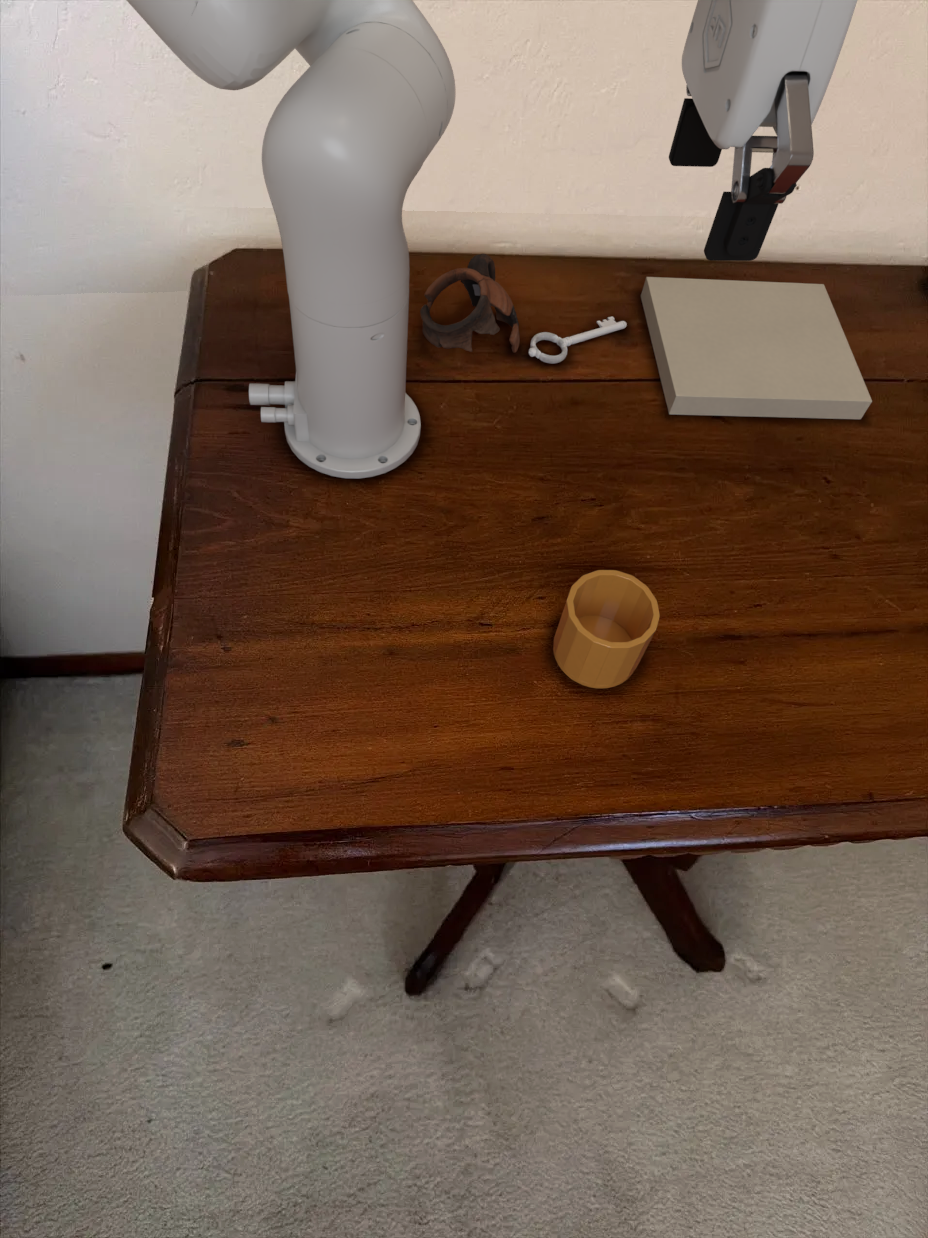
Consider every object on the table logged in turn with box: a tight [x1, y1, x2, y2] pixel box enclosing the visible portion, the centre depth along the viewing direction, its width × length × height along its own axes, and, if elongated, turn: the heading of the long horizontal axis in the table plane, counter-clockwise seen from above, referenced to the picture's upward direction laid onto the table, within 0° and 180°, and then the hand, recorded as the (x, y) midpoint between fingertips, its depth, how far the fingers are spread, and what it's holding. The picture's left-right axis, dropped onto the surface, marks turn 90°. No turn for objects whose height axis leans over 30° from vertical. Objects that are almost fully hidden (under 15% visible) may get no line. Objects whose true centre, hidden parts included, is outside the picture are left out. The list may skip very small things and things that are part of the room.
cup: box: [552, 569, 661, 689], centre depth 69 cm, size 7×7×6 cm
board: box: [640, 276, 873, 420], centre depth 92 cm, size 20×18×2 cm
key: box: [527, 316, 628, 365], centre depth 91 cm, size 12×1×4 cm
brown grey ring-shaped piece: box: [419, 253, 521, 354], centre depth 89 cm, size 12×10×8 cm
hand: (709, 208), depth 55 cm, fingers open, 9 cm apart
